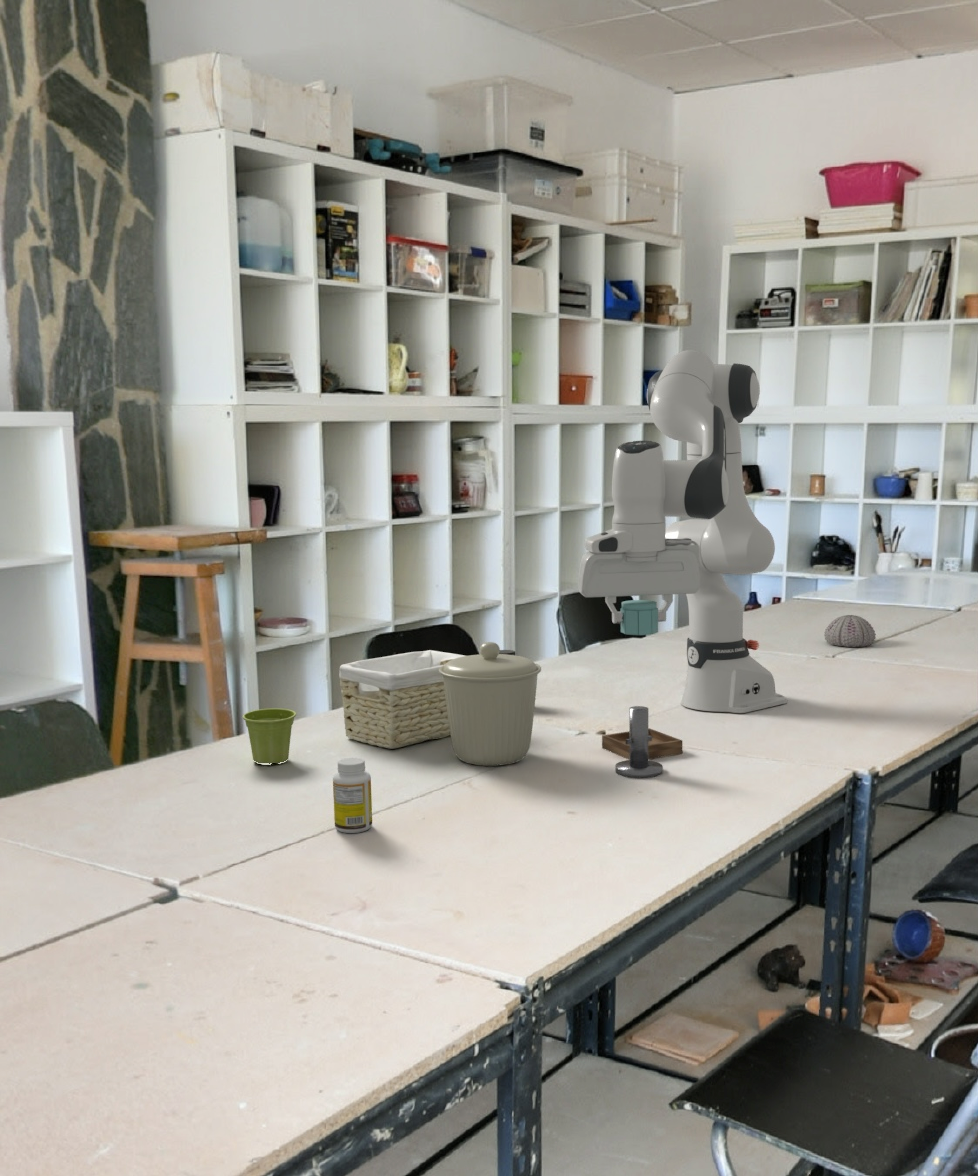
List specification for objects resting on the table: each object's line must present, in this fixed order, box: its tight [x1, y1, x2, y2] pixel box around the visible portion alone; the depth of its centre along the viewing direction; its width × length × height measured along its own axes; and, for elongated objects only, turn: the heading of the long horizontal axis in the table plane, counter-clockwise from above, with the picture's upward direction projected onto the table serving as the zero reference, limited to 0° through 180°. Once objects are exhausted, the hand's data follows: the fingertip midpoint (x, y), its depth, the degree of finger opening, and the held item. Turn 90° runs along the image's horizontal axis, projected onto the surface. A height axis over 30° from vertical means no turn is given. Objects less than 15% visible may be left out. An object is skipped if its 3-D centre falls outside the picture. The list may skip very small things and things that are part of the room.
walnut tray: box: [601, 727, 683, 760], centre depth 217 cm, size 10×10×2 cm
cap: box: [619, 599, 659, 636], centre depth 201 cm, size 6×6×5 cm
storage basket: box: [338, 649, 465, 750], centre depth 231 cm, size 24×16×15 cm
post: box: [614, 705, 664, 779], centre depth 203 cm, size 8×8×11 cm
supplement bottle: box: [332, 757, 373, 834], centre depth 176 cm, size 6×6×10 cm
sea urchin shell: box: [823, 614, 877, 648], centre depth 321 cm, size 13×14×8 cm
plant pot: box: [242, 708, 297, 764], centre depth 214 cm, size 9×9×9 cm
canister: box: [439, 641, 542, 767], centre depth 212 cm, size 18×18×21 cm
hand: (639, 622), depth 201 cm, fingers closed on cap, 6 cm apart
